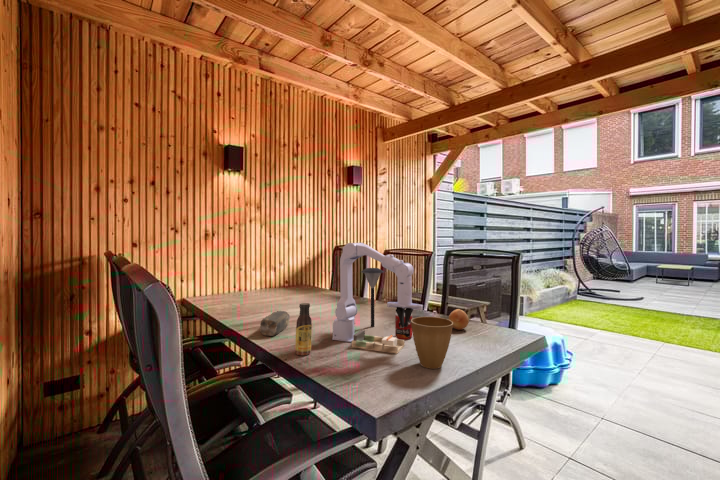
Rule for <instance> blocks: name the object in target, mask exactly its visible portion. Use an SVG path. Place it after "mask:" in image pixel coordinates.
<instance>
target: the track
mask: <svg viewBox="0 0 720 480" xmlns="http://www.w3.org/2000/svg"><path fill="white" fill-rule="evenodd" d="M384 337H385V336H384ZM384 337H383V336H377V335H371V334H366V331H365V330H364V329H361V330H359V331H358V332H356V333H354V335H353V340H352V341H351V347H352V348H357V349H363V350H369V351H378V352H383V353H389V354H396V355H397V354H398V353H399V352H401V351H402V350H403V348H405V345H406V344H405V342H406V340H401V339H397V345H396V346H391V345H384V344H382V339H383V338H384Z"/></svg>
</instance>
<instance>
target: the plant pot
mask: <svg viewBox="0 0 720 480" xmlns="http://www.w3.org/2000/svg"><path fill="white" fill-rule="evenodd" d="M411 325H412V338H413V343H414V347H415V351H416V355H417V357H418V359H419V360H418V361H419V363H420V366H421V367H424V368H427V369H433V370H436V369H440V368H441V367H442V366H443V364H444V361H445V359H446V356H447V352H448V350H449V345H450V343H451V342H450V341H451V338H452V333H453V329H454V328H453V322H452V321H450V320H448V318H444V317H439V316H438V317H437V316H418V317H417V316H416V317H412V320H411Z"/></svg>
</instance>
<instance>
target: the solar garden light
mask: <svg viewBox="0 0 720 480" xmlns="http://www.w3.org/2000/svg"><path fill="white" fill-rule="evenodd" d="M360 273H362V274H364V275H365V278H366V280H367V282H368V285H369V287H370V327H371V328H374V327H375V288H376V285H377V283H378V281H379V278H380V276H381V274H383V273H385V271H384V270H382V269H381V268H379V267H366V268H364V269H362V270H361V271H360Z"/></svg>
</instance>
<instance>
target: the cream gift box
mask: <svg viewBox="0 0 720 480" xmlns="http://www.w3.org/2000/svg"><path fill="white" fill-rule="evenodd" d="M382 344H384V345H391V346H396V345H397V338H396V336H393V335H392V334H391V335H389V336H384V338H383V339H382Z"/></svg>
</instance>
